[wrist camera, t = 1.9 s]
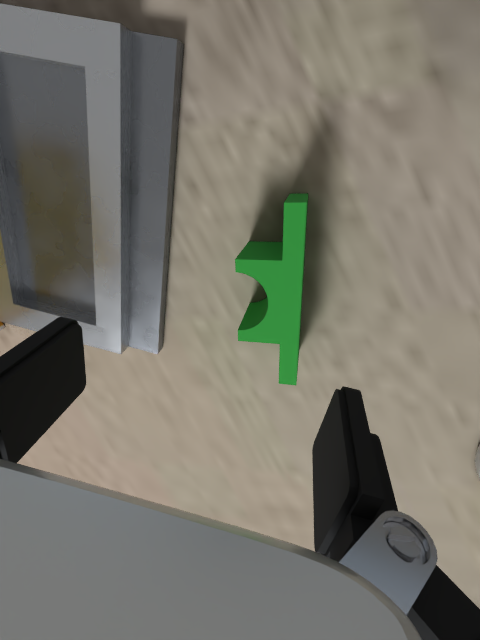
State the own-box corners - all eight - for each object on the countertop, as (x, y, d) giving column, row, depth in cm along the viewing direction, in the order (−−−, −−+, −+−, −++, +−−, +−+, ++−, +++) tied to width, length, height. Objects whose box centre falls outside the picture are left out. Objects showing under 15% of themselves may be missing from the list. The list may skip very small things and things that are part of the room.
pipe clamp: (248, 193, 21) (232, 201, 17) (308, 193, 20) (307, 201, 16) (250, 346, 26) (239, 380, 22) (299, 349, 25) (296, 386, 21)
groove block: (183, 44, 18) (168, 31, 16) (162, 347, 27) (151, 362, 25) (-74, 1, 19) (-116, -16, 18) (-10, 302, 29) (-33, 312, 27)
